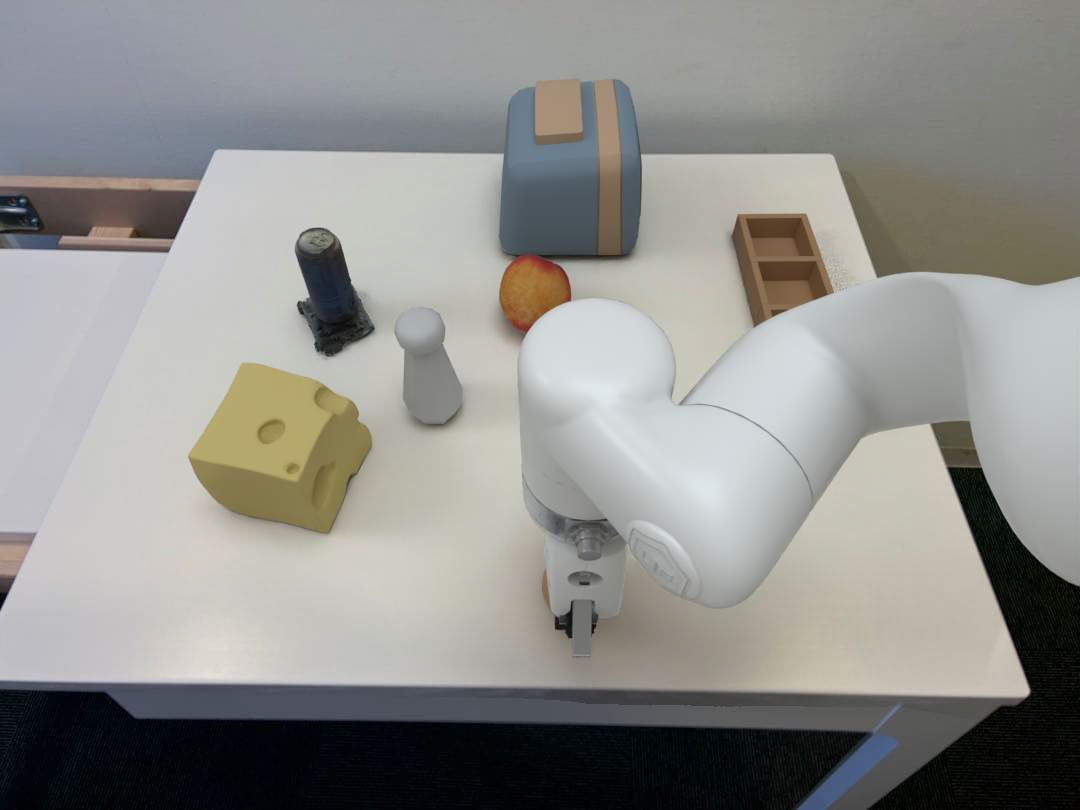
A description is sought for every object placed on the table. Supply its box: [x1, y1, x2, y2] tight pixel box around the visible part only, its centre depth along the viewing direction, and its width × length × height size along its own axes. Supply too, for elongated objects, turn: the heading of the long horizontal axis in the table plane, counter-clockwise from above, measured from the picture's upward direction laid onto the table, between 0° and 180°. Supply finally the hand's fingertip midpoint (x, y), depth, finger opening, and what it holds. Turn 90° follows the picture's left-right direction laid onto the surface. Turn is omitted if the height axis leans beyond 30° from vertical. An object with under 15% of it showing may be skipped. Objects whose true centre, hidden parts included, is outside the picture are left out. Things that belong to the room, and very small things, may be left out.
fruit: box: [498, 254, 572, 333], centre depth 74 cm, size 8×8×8 cm
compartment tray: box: [731, 212, 835, 328], centre depth 77 cm, size 23×8×3 cm, turn 0°
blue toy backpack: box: [498, 77, 643, 256], centre depth 80 cm, size 16×16×16 cm
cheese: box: [187, 362, 373, 534], centre depth 61 cm, size 10×11×10 cm
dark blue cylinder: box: [294, 227, 376, 356], centre depth 72 cm, size 9×8×12 cm
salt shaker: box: [394, 306, 464, 425], centre depth 65 cm, size 6×6×13 cm
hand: (573, 588), depth 56 cm, fingers closed on egg, 5 cm apart
